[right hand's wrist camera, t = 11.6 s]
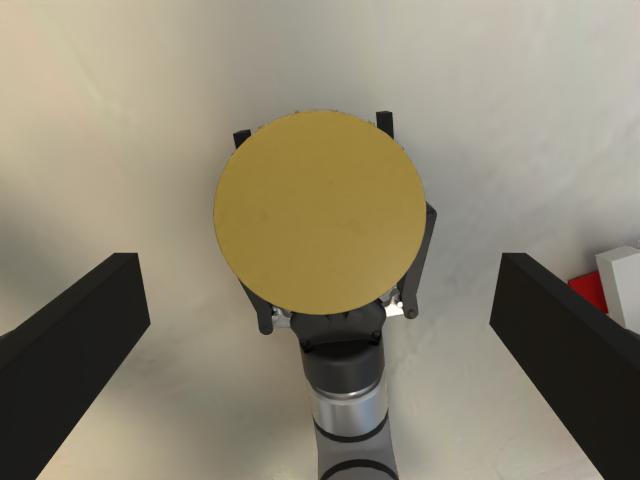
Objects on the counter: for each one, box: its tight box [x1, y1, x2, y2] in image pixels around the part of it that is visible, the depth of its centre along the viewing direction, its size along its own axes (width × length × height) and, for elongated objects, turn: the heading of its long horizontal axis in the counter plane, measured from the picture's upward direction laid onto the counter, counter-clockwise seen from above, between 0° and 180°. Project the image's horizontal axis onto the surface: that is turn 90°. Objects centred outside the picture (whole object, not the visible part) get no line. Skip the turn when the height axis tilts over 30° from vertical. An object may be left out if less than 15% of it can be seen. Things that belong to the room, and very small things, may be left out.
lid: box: [214, 109, 426, 315], centre depth 21 cm, size 11×11×2 cm
